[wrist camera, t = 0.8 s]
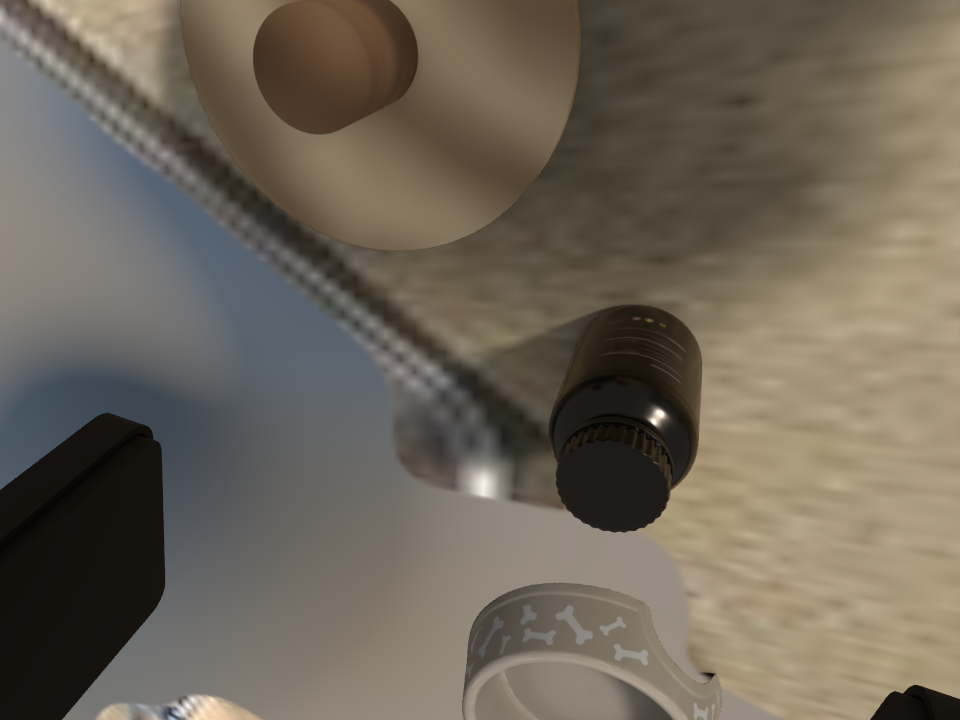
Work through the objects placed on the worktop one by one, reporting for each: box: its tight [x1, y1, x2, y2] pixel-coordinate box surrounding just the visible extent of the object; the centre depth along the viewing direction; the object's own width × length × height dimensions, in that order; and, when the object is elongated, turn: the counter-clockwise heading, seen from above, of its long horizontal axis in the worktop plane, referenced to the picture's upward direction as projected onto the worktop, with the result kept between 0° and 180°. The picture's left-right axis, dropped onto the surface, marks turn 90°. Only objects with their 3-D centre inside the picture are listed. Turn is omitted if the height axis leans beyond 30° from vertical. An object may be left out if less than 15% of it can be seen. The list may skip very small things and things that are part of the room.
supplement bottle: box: [549, 305, 702, 532], centre depth 37 cm, size 7×7×12 cm
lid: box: [180, 0, 581, 251], centre depth 30 cm, size 17×17×6 cm
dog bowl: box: [462, 583, 722, 720], centre depth 54 cm, size 17×18×5 cm
